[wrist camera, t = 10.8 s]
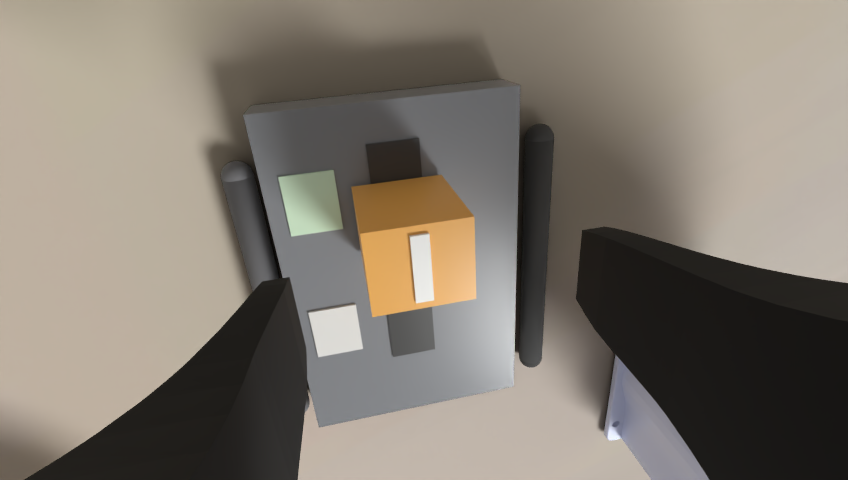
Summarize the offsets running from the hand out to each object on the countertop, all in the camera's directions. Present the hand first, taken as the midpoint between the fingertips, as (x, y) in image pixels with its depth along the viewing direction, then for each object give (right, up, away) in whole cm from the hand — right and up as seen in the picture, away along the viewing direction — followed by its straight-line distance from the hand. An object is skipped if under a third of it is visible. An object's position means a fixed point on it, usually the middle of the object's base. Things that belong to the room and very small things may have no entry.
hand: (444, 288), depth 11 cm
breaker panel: (-2, 0, +10) cm, 10 cm away
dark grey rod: (+5, 0, +12) cm, 13 cm away
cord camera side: (-7, -1, +10) cm, 12 cm away
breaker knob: (-1, +2, +7) cm, 7 cm away
